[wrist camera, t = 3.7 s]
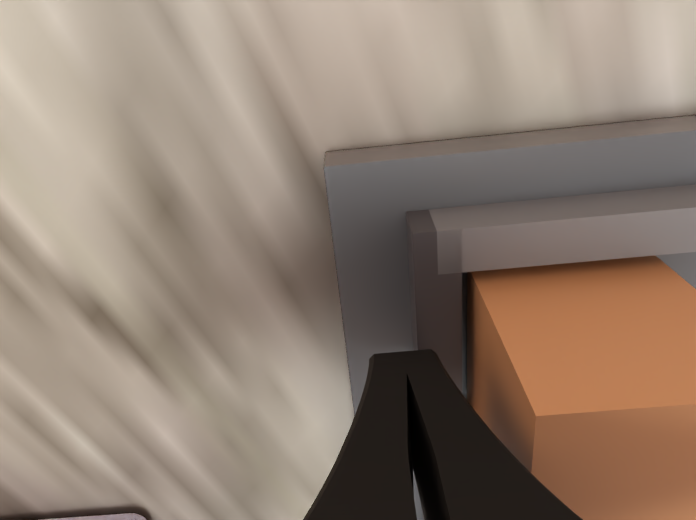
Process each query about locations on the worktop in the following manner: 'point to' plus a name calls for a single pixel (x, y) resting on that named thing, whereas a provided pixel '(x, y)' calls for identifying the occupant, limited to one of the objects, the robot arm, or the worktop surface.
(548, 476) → the orange block
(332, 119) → the worktop surface
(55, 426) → the worktop surface
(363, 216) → the gray compartment tray
